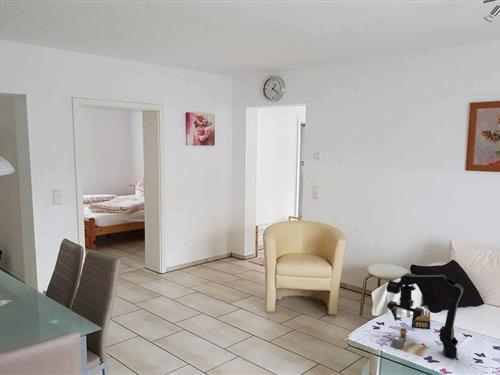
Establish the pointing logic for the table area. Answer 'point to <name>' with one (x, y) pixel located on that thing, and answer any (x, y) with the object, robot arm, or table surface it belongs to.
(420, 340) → the table surface
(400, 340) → the box
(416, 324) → the ammunition clip
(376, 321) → the table surface
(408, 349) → the board
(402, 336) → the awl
